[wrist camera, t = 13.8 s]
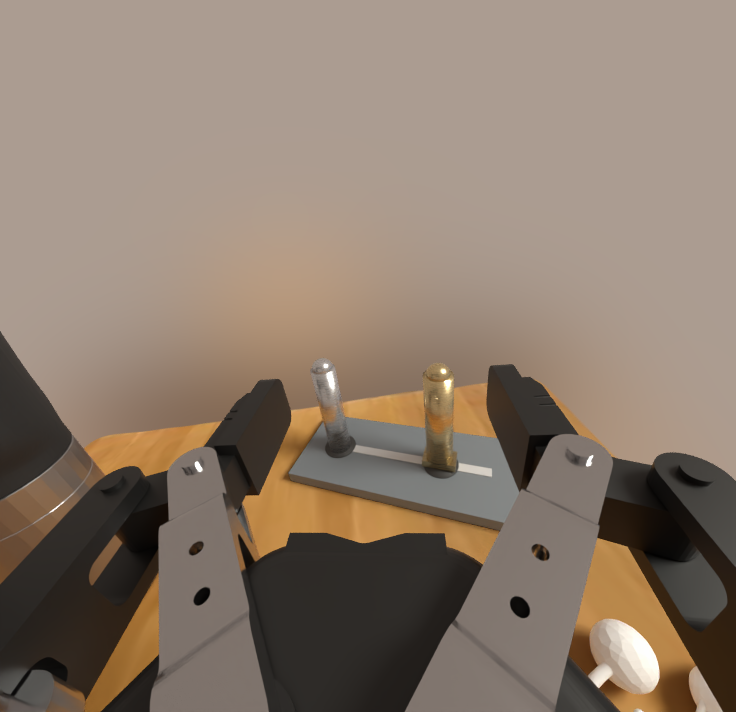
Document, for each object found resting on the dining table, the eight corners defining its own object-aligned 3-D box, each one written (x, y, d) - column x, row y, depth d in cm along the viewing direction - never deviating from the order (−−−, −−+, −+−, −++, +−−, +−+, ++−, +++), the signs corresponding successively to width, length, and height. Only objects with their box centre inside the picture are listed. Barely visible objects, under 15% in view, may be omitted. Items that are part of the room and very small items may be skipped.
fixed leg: (326, 452, 43) (303, 365, 36) (335, 437, 45) (315, 353, 38) (346, 455, 42) (325, 367, 35) (354, 440, 44) (336, 354, 37)
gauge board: (291, 480, 41) (287, 472, 40) (329, 421, 51) (327, 413, 50) (522, 535, 31) (524, 526, 30) (515, 449, 41) (516, 440, 40)
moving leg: (421, 468, 38) (415, 371, 31) (426, 449, 40) (421, 356, 33) (454, 475, 36) (456, 374, 29) (457, 454, 39) (459, 358, 32)
